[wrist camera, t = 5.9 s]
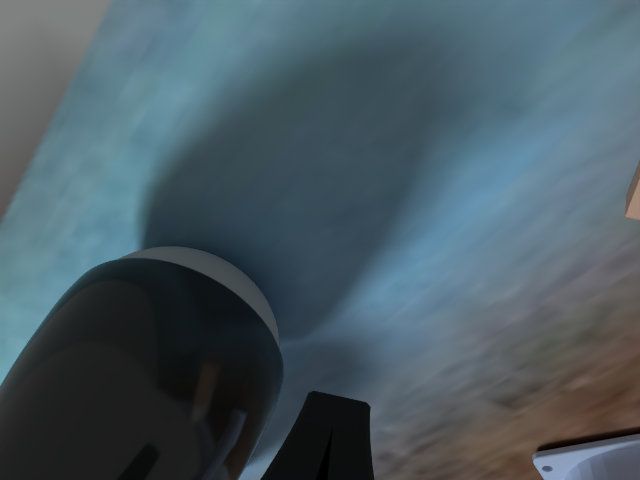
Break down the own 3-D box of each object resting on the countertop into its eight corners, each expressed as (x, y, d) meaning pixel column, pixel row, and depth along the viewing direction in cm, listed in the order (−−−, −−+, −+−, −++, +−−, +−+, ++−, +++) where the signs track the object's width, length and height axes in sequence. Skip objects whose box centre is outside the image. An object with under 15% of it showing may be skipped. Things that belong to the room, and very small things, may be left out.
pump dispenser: (313, 379, 26) (202, 792, 14) (140, 357, 28) (-93, 700, 16) (300, 219, 21) (94, 668, 8) (86, 205, 23) (-340, 551, 10)
